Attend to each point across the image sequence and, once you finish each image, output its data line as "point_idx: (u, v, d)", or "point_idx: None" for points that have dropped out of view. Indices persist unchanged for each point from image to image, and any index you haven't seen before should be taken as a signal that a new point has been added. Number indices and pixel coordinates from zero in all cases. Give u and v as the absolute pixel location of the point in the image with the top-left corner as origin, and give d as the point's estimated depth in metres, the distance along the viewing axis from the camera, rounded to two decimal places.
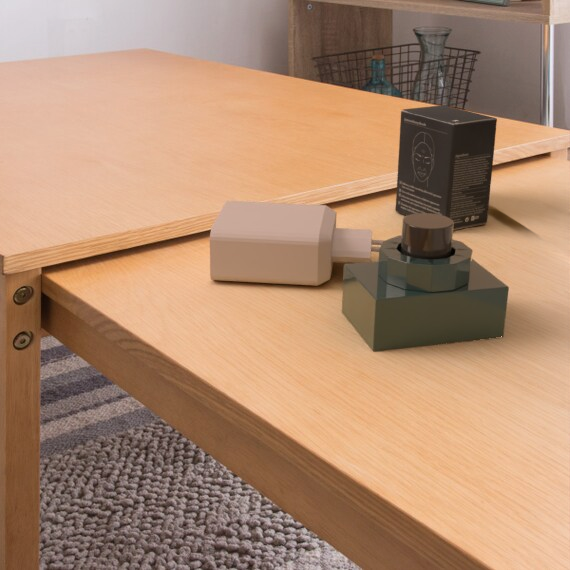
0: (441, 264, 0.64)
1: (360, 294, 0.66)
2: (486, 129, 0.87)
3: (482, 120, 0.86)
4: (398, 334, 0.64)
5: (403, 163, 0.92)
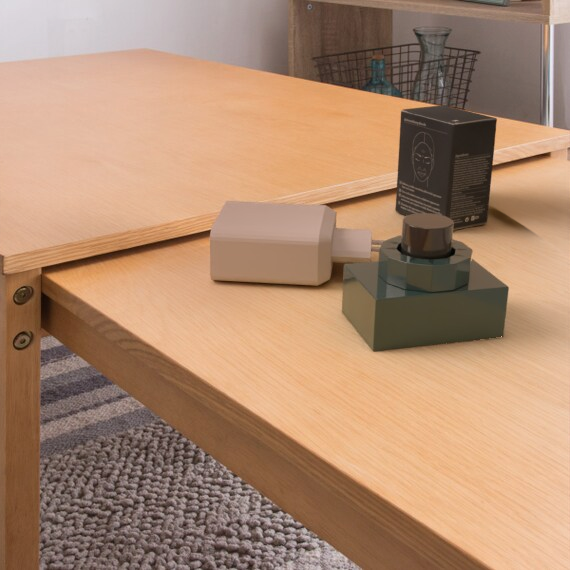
0: (441, 264, 0.64)
1: (360, 294, 0.66)
2: (486, 129, 0.87)
3: (482, 120, 0.86)
4: (398, 334, 0.64)
5: (403, 163, 0.92)
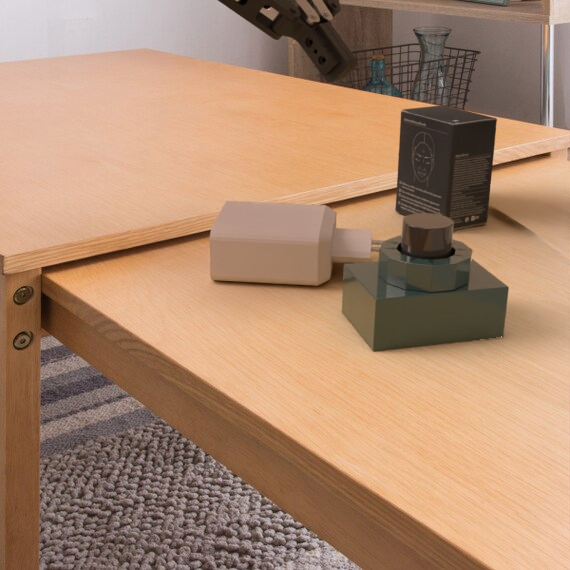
0: (441, 264, 0.64)
1: (360, 294, 0.66)
2: (486, 129, 0.87)
3: (482, 120, 0.86)
4: (398, 334, 0.64)
5: (403, 163, 0.92)
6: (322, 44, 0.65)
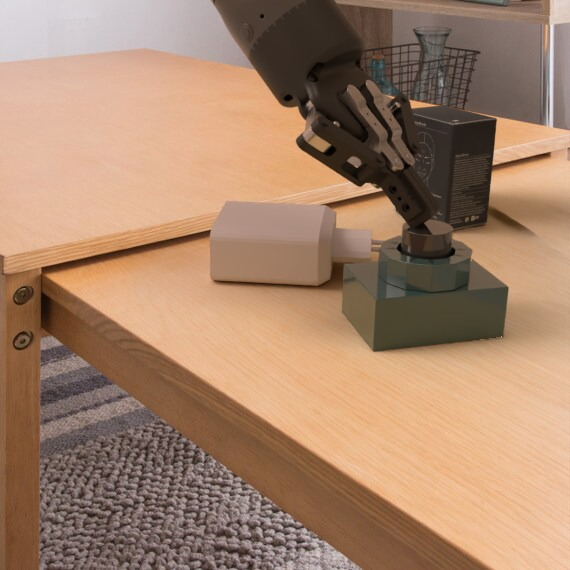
0: (441, 264, 0.64)
1: (360, 294, 0.66)
2: (486, 129, 0.87)
3: (482, 120, 0.86)
4: (398, 334, 0.64)
5: None
6: (406, 192, 0.64)
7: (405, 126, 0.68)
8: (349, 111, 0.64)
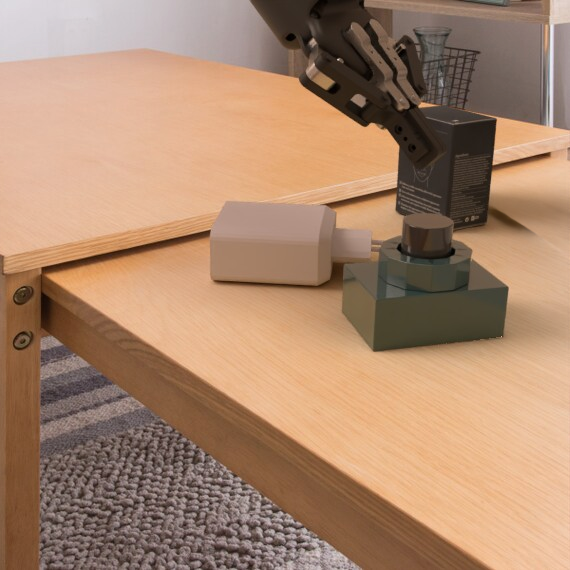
0: (441, 264, 0.64)
1: (360, 294, 0.66)
2: (486, 129, 0.87)
3: (482, 120, 0.86)
4: (398, 334, 0.64)
5: (403, 163, 0.92)
6: (412, 132, 0.63)
7: (410, 67, 0.66)
8: (353, 49, 0.63)
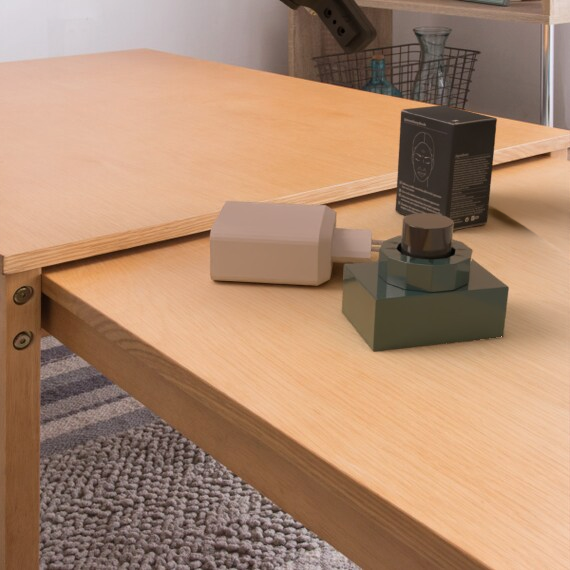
0: (441, 264, 0.64)
1: (360, 294, 0.66)
2: (486, 129, 0.87)
3: (482, 120, 0.86)
4: (398, 334, 0.64)
5: (403, 163, 0.92)
6: (341, 14, 0.63)
7: None
8: None
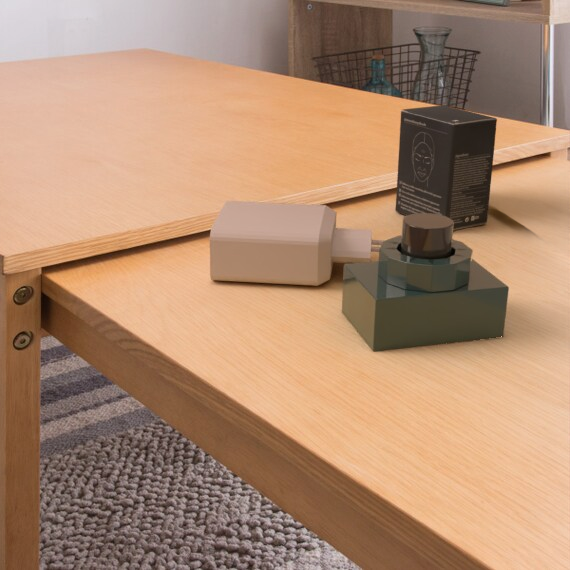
0: (441, 264, 0.64)
1: (360, 294, 0.66)
2: (486, 129, 0.87)
3: (482, 120, 0.86)
4: (398, 334, 0.64)
5: (403, 163, 0.92)
6: None
7: None
8: None
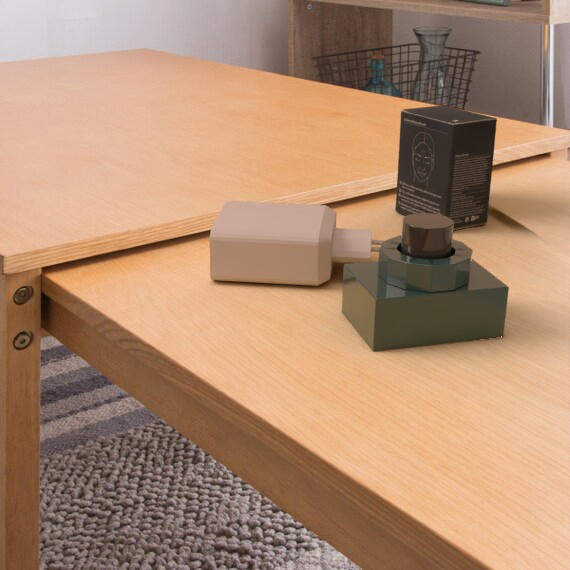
0: (441, 264, 0.64)
1: (360, 294, 0.66)
2: (486, 129, 0.87)
3: (482, 120, 0.86)
4: (398, 334, 0.64)
5: (403, 163, 0.92)
6: None
7: None
8: None
